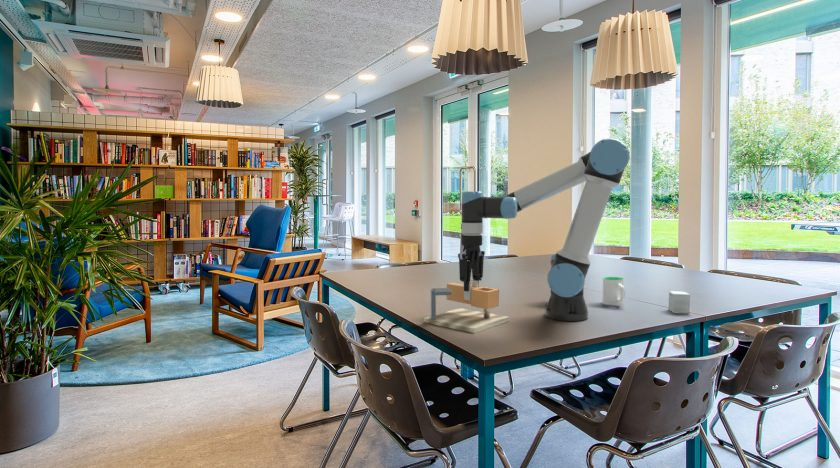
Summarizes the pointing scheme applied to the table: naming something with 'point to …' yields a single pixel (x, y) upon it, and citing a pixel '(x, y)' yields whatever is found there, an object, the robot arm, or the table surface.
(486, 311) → the post
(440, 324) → the board
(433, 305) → the keeper
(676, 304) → the product box
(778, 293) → the table surface
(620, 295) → the mug
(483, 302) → the link
